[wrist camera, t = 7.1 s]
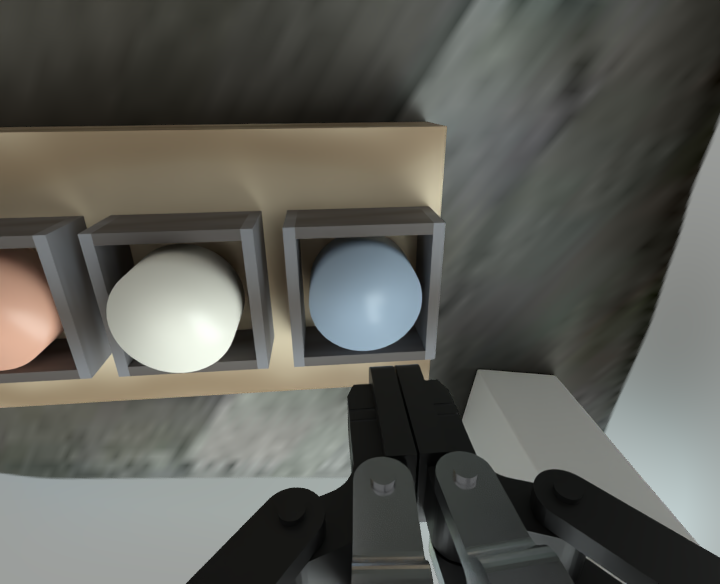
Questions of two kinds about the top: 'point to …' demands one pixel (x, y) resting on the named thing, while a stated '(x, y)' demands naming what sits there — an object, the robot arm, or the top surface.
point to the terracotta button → (25, 308)
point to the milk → (551, 439)
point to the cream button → (177, 308)
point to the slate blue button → (363, 293)
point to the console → (216, 242)
